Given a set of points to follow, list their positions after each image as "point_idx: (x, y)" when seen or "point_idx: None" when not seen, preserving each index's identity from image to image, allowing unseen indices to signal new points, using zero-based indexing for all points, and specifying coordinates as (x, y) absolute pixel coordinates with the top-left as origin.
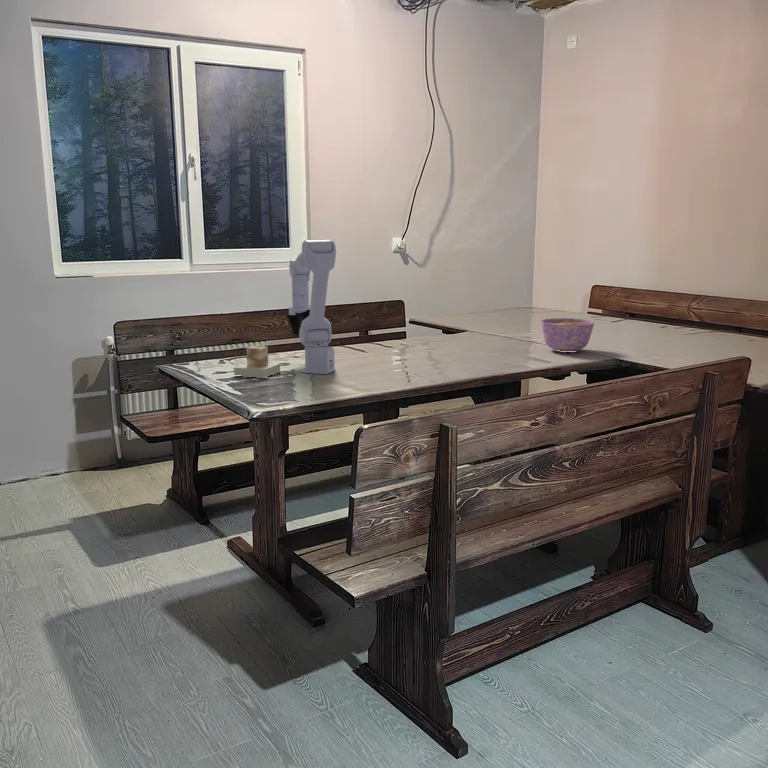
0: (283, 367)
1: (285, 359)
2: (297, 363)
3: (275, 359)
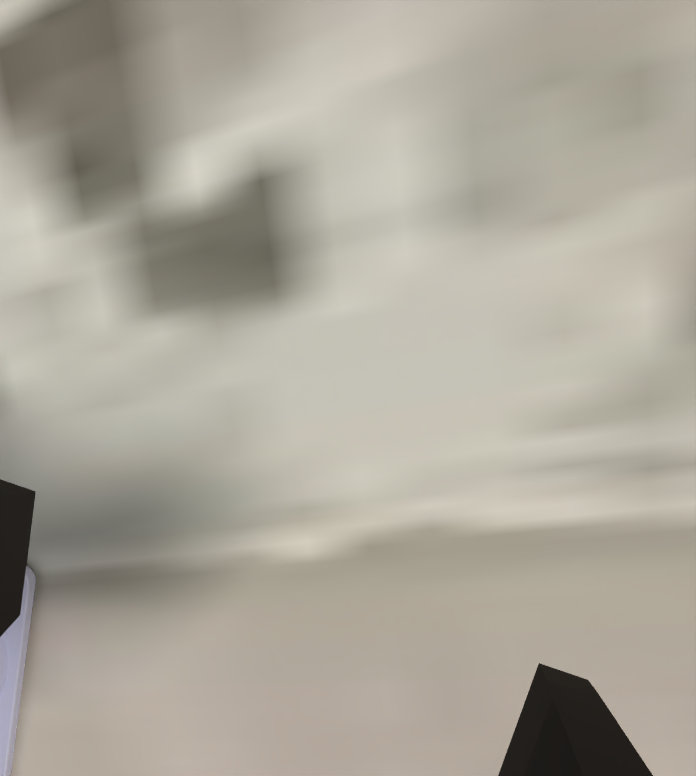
0: (44, 277)
1: (558, 170)
2: (289, 392)
3: (550, 13)
